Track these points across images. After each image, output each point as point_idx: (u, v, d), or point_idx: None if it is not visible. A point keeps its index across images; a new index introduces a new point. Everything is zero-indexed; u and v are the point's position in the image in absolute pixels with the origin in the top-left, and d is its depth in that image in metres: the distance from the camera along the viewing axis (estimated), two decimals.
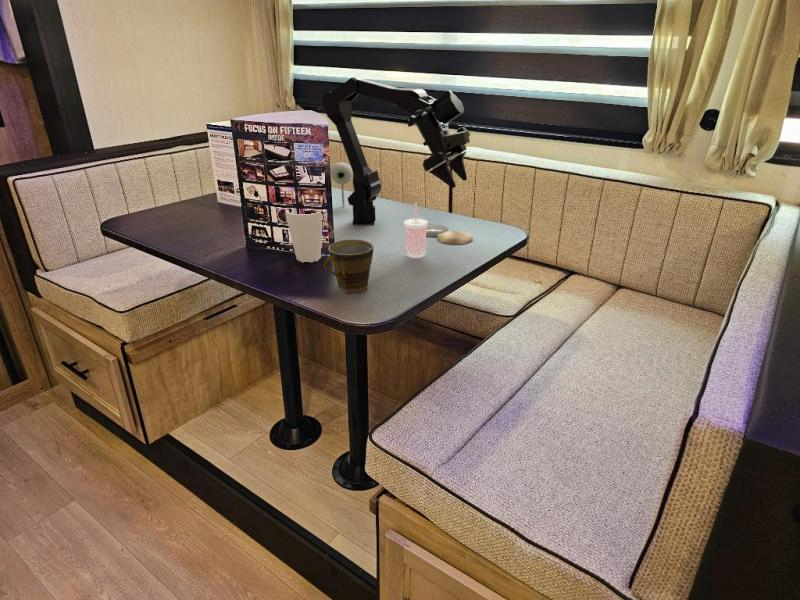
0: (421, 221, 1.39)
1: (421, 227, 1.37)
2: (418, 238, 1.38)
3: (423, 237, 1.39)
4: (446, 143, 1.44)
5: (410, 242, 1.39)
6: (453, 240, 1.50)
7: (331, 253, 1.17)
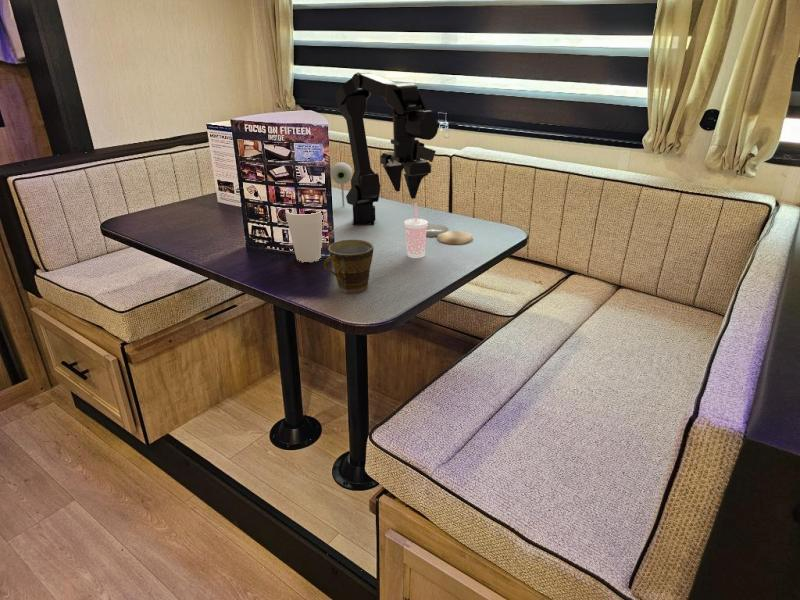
0: (421, 221, 1.39)
1: (421, 227, 1.37)
2: (418, 238, 1.38)
3: (423, 237, 1.39)
4: (420, 153, 1.42)
5: (410, 242, 1.39)
6: (453, 240, 1.50)
7: (331, 253, 1.17)
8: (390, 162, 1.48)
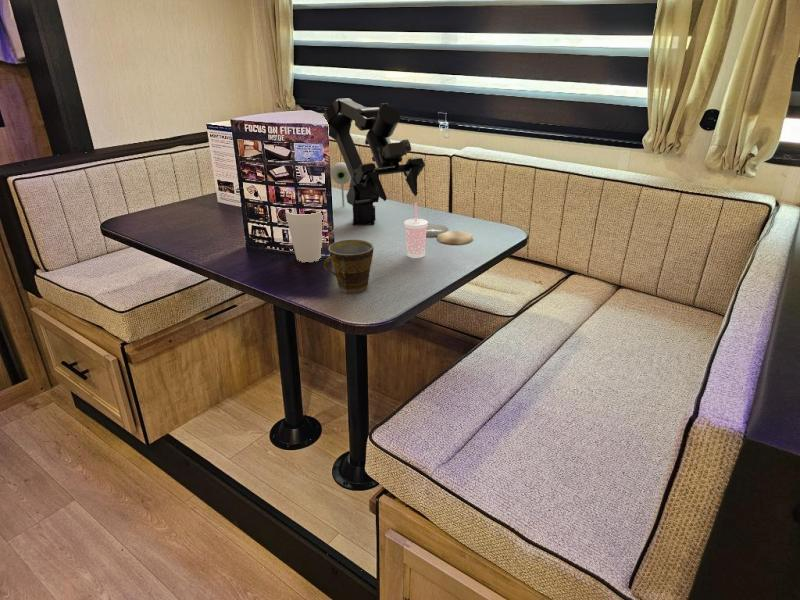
0: (421, 221, 1.39)
1: (421, 227, 1.37)
2: (418, 238, 1.38)
3: (423, 237, 1.39)
4: (381, 156, 1.42)
5: (410, 242, 1.39)
6: (453, 240, 1.50)
7: (331, 253, 1.17)
8: (406, 173, 1.49)
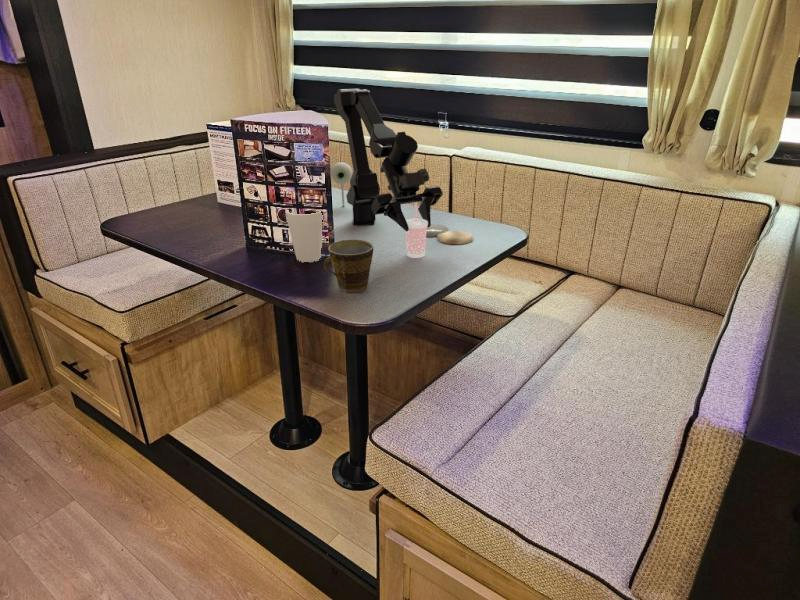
0: (421, 221, 1.39)
1: (421, 227, 1.37)
2: (418, 238, 1.38)
3: (423, 237, 1.39)
4: (398, 185, 1.37)
5: (410, 242, 1.39)
6: (453, 240, 1.50)
7: (331, 253, 1.17)
8: (419, 202, 1.43)
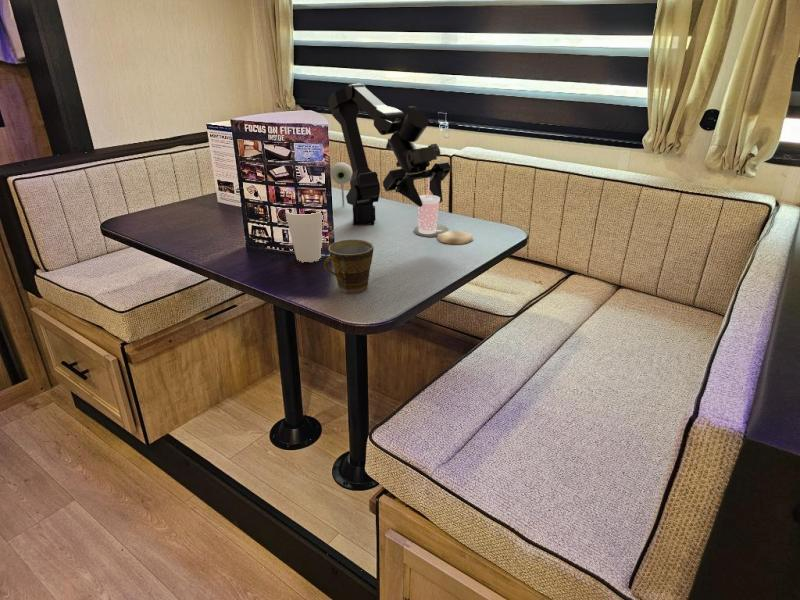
0: (433, 197, 1.39)
1: (435, 202, 1.37)
2: (432, 214, 1.38)
3: (436, 213, 1.39)
4: (409, 161, 1.36)
5: (423, 218, 1.39)
6: (453, 240, 1.50)
7: (331, 253, 1.17)
8: None
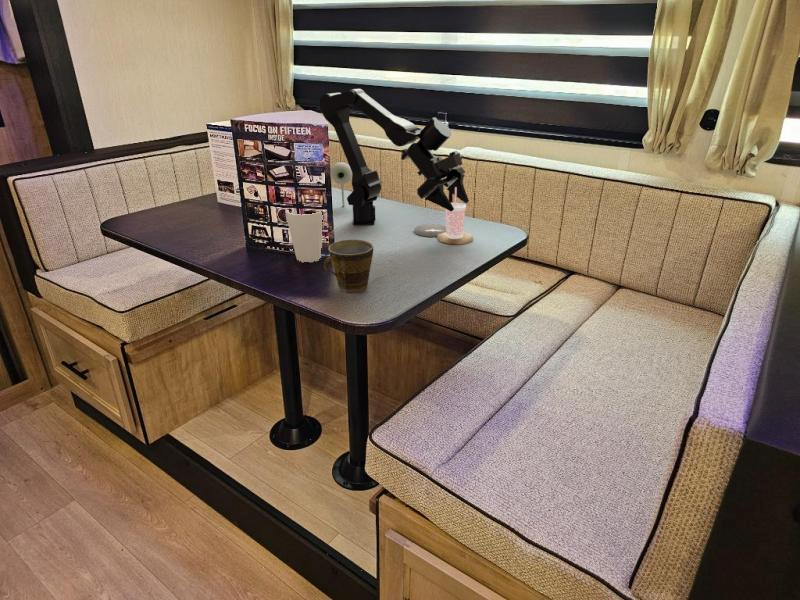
0: (457, 204, 1.51)
1: (464, 209, 1.49)
2: (462, 219, 1.50)
3: None
4: (438, 169, 1.45)
5: (455, 225, 1.50)
6: (453, 240, 1.50)
7: (331, 253, 1.17)
8: (448, 182, 1.55)
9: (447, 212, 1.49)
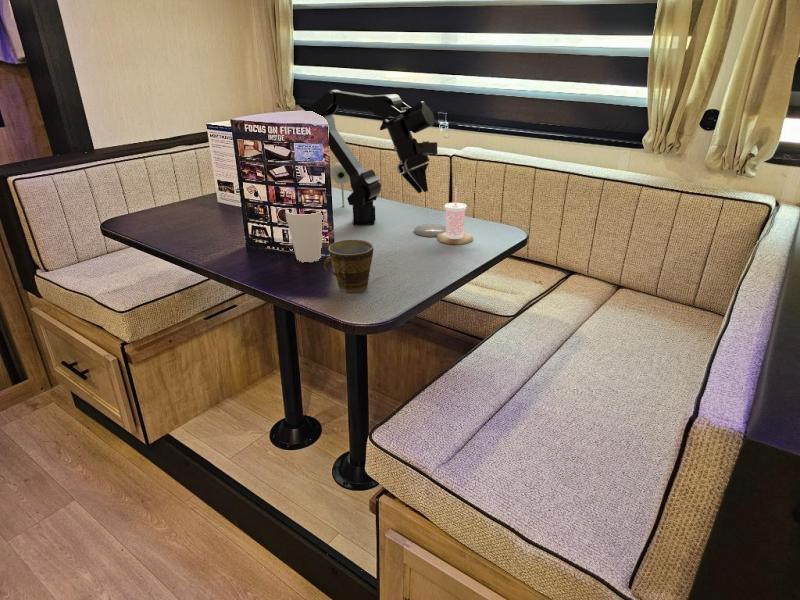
0: (458, 204, 1.51)
1: (464, 209, 1.49)
2: (462, 219, 1.50)
3: None
4: (420, 149, 1.50)
5: (455, 225, 1.50)
6: (453, 240, 1.50)
7: (331, 253, 1.17)
8: (404, 169, 1.58)
9: (447, 212, 1.49)
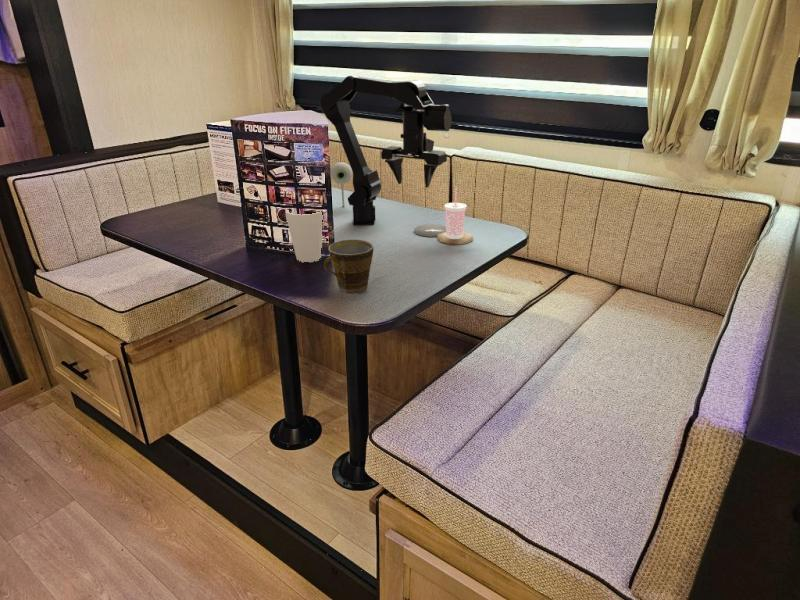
0: (458, 204, 1.51)
1: (464, 209, 1.49)
2: (462, 219, 1.50)
3: None
4: (427, 145, 1.53)
5: (455, 225, 1.50)
6: (453, 240, 1.50)
7: (331, 253, 1.17)
8: (394, 156, 1.55)
9: (447, 212, 1.49)
